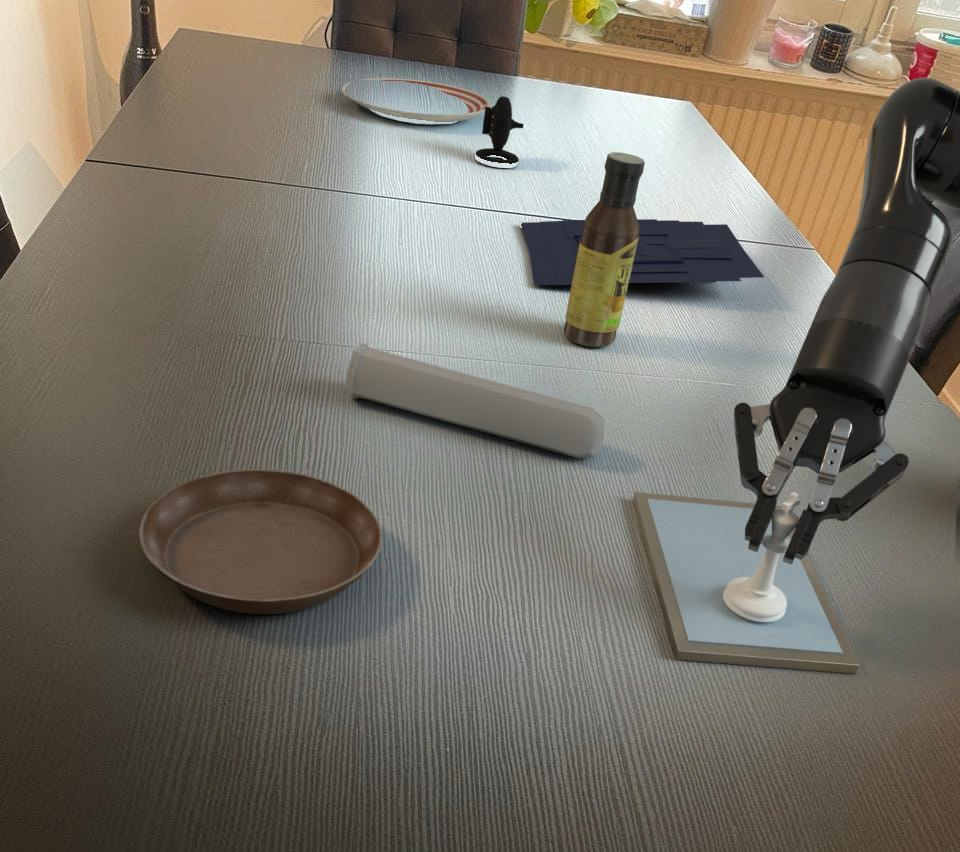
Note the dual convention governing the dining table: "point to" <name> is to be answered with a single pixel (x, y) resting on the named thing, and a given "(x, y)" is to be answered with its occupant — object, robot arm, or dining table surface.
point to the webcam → (499, 131)
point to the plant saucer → (260, 539)
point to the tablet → (705, 575)
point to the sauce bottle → (605, 256)
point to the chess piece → (765, 572)
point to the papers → (644, 252)
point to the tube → (474, 402)
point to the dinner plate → (471, 99)
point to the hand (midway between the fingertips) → (770, 553)
